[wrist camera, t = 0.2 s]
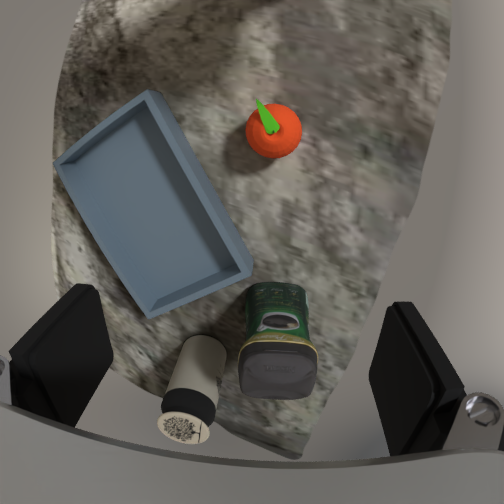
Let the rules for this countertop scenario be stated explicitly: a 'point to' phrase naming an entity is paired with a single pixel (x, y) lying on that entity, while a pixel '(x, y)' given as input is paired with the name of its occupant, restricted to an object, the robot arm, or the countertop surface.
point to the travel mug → (193, 391)
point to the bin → (153, 207)
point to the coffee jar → (277, 344)
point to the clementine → (273, 130)
